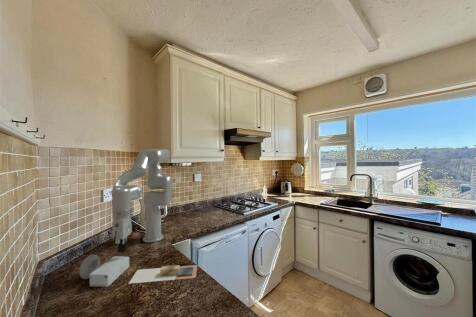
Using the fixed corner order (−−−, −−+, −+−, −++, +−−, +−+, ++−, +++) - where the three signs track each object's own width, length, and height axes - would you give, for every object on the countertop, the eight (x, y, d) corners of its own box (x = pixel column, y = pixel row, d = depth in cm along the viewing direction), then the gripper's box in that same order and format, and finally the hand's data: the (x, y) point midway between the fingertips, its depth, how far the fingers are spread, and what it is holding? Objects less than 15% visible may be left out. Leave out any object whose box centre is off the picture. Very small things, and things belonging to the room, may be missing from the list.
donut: (95, 270, 93) (94, 250, 93) (102, 270, 93) (101, 250, 93) (77, 284, 83) (77, 261, 83) (85, 284, 83) (84, 261, 83)
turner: (159, 278, 85) (159, 271, 85) (162, 270, 91) (162, 264, 91) (192, 275, 87) (192, 269, 87) (193, 268, 92) (193, 262, 92)
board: (137, 272, 92) (137, 269, 92) (197, 267, 95) (197, 265, 95) (128, 286, 82) (128, 283, 82) (195, 280, 85) (195, 277, 85)
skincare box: (114, 267, 95) (88, 288, 80) (113, 255, 95) (87, 274, 80) (130, 267, 94) (107, 289, 80) (130, 255, 94) (106, 275, 79)
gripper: (122, 218, 86) (123, 258, 86) (136, 209, 101) (136, 243, 101) (104, 219, 85) (105, 260, 86) (120, 209, 100) (121, 244, 100)
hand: (122, 251), depth 93 cm, fingers closed
